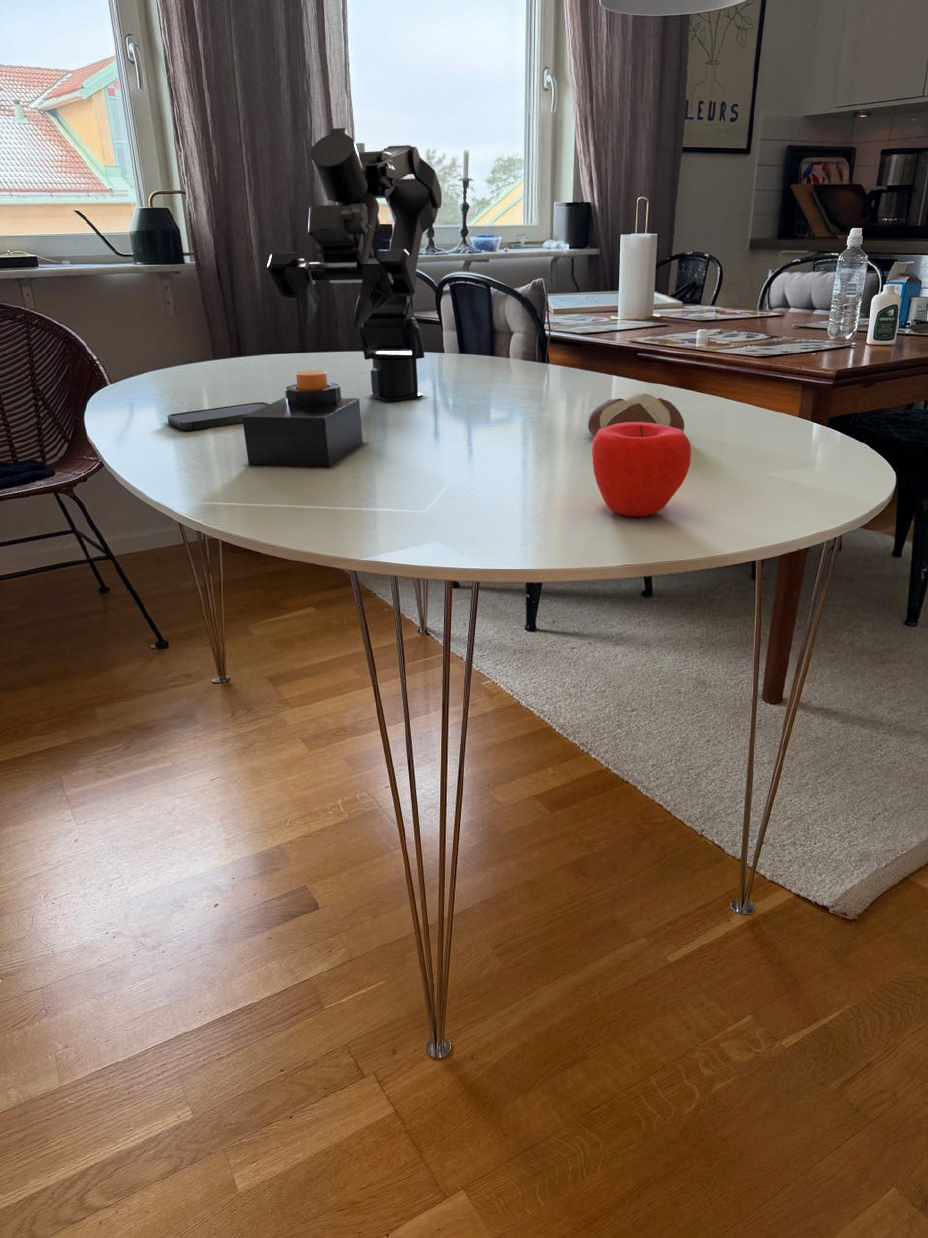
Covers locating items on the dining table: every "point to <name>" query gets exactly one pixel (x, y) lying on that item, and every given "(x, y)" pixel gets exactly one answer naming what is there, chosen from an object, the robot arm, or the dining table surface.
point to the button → (311, 380)
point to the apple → (639, 466)
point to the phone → (213, 416)
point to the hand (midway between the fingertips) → (330, 326)
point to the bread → (635, 412)
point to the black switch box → (304, 429)
